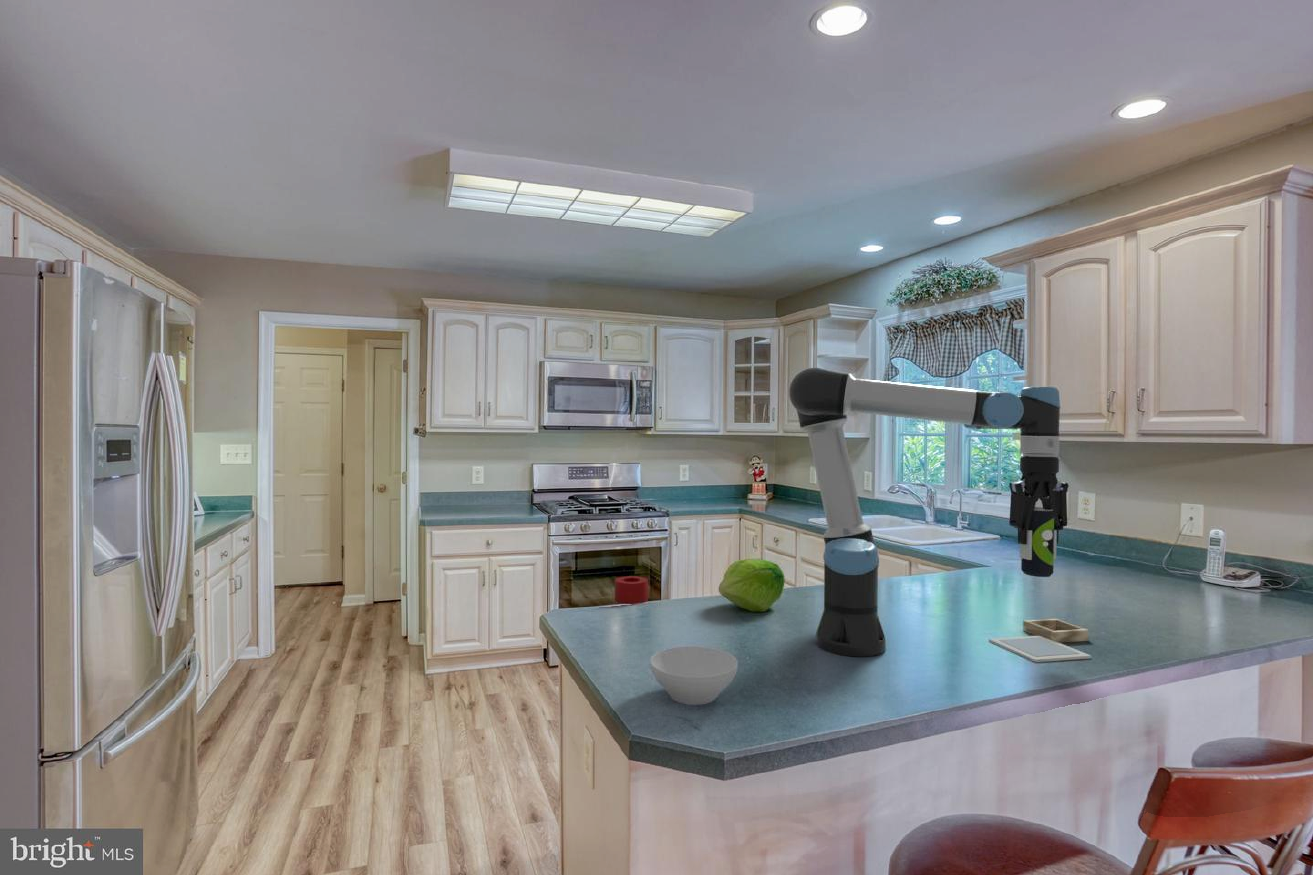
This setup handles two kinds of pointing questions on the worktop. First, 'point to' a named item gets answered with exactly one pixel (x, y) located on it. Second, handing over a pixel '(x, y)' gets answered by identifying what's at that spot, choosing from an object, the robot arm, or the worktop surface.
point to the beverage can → (1041, 544)
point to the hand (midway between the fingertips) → (1037, 558)
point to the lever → (631, 590)
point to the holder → (1064, 629)
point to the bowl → (693, 672)
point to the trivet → (1039, 648)
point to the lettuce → (753, 584)
